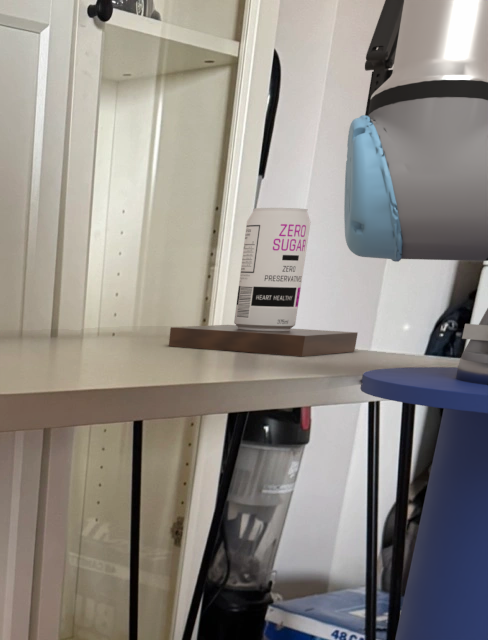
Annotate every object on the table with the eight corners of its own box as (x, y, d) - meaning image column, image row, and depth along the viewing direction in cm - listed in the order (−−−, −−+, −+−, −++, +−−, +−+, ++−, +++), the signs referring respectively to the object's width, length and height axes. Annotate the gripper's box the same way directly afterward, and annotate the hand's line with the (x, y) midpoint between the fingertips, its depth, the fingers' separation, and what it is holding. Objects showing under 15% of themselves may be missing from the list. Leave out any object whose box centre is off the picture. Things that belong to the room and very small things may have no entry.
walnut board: (354, 351, 142) (357, 332, 141) (301, 356, 132) (305, 335, 131) (226, 342, 155) (228, 324, 154) (168, 346, 144) (170, 327, 143)
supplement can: (251, 327, 148) (266, 211, 142) (304, 330, 142) (323, 210, 136) (222, 328, 142) (236, 208, 136) (276, 332, 137) (294, 207, 131)
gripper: (432, -34, 139) (400, 144, 148) (358, -77, 123) (327, 127, 131) (490, -43, 135) (454, 141, 144) (422, -89, 118) (386, 123, 127)
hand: (394, 135), depth 137 cm, fingers open, 13 cm apart
